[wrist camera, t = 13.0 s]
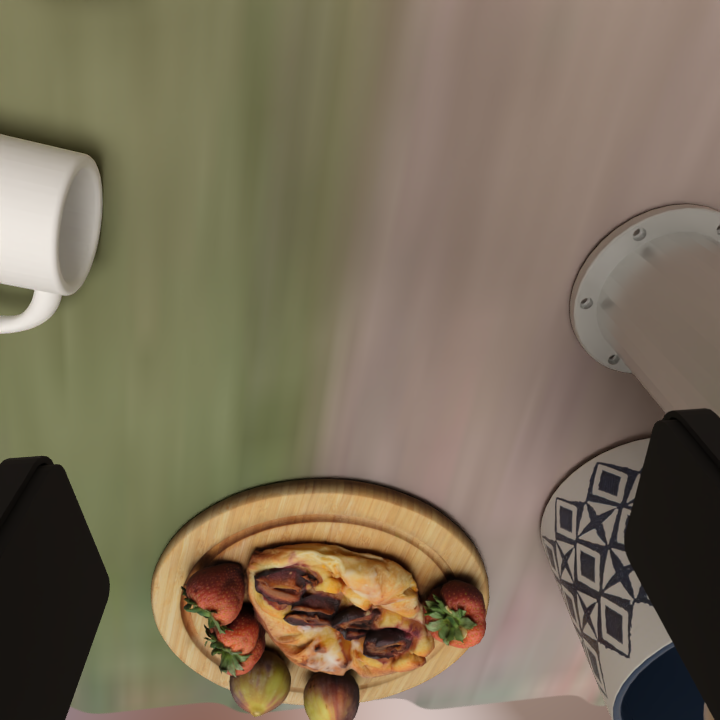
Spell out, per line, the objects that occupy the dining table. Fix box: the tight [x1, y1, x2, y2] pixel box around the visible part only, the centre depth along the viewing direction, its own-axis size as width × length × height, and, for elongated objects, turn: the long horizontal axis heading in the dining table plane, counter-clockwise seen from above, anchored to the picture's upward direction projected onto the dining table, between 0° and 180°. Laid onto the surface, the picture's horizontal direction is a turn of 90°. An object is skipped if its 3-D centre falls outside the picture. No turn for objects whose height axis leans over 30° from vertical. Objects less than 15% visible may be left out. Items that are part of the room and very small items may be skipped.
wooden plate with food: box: [151, 479, 489, 720], centre depth 55 cm, size 32×32×8 cm
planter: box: [541, 438, 704, 720], centre depth 47 cm, size 18×18×16 cm
